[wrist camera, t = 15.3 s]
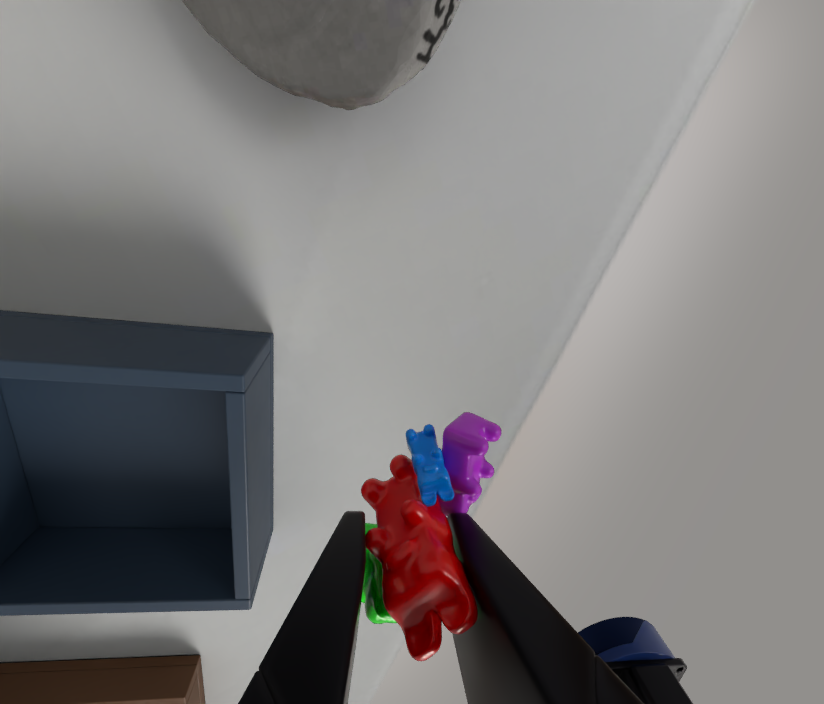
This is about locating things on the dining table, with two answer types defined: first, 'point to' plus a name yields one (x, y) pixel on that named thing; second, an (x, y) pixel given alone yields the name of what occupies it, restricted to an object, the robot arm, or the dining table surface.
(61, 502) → the bin
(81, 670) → the tray
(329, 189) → the dining table surface
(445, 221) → the dining table surface
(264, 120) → the dining table surface
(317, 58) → the seashell
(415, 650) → the gummy bear
